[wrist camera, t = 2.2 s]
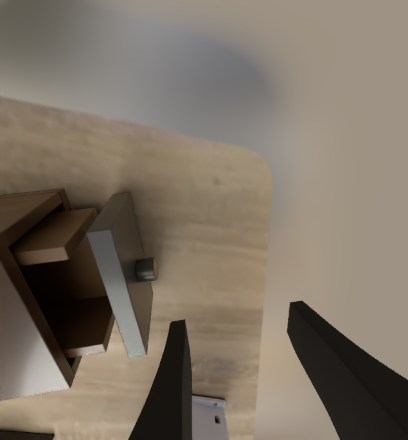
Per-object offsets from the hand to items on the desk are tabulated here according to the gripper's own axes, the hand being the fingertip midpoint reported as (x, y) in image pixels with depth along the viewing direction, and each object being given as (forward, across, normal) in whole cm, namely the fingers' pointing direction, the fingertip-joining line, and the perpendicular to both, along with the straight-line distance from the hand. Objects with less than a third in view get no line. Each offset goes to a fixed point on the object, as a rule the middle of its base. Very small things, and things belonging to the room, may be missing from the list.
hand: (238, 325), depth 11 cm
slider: (+8, +10, 0) cm, 13 cm away
